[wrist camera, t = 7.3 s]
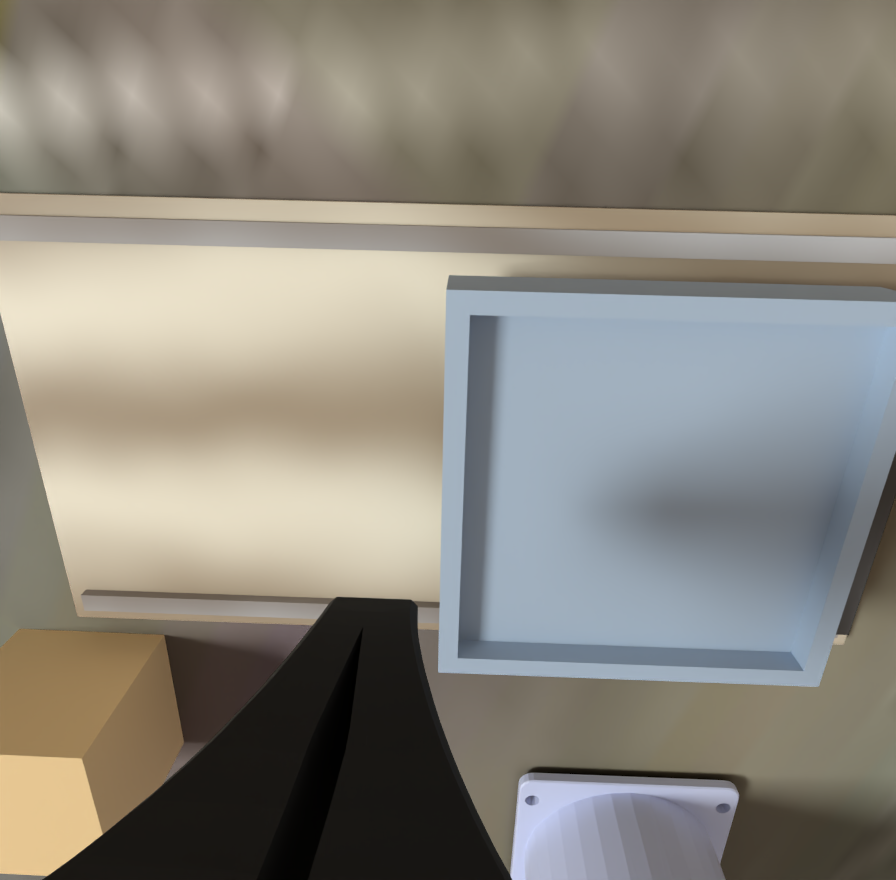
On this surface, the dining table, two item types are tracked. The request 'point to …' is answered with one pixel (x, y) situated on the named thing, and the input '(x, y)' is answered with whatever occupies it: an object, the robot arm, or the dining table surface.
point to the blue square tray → (658, 474)
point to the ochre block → (79, 739)
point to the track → (308, 377)
